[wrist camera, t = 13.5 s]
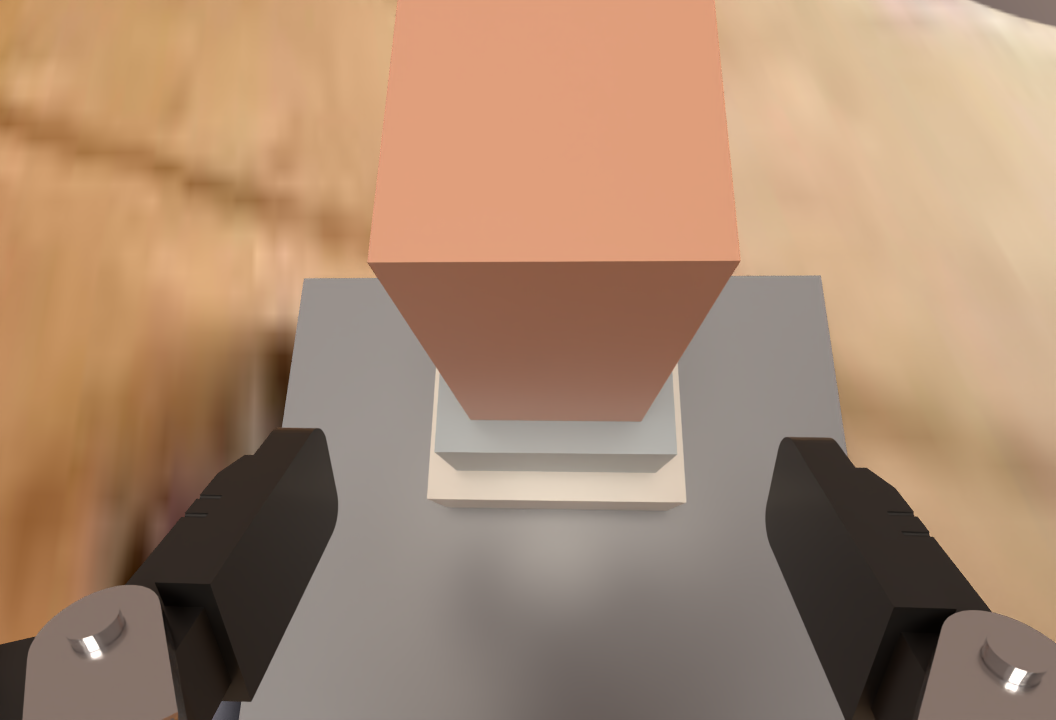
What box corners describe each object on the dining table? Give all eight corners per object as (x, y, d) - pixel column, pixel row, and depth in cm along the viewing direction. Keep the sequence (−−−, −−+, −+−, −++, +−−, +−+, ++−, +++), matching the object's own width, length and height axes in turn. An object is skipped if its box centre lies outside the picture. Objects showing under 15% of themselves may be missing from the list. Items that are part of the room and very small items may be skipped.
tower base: (655, 306, 27) (693, 209, 19) (666, 510, 24) (715, 490, 17) (458, 307, 28) (420, 212, 20) (446, 507, 25) (397, 486, 17)
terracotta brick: (634, 266, 19) (712, -24, 9) (641, 421, 17) (740, 260, 8) (478, 267, 19) (399, -15, 10) (470, 420, 18) (367, 262, 8)
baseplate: (813, 283, 28) (820, 275, 27) (895, 850, 21) (907, 861, 20) (310, 285, 29) (304, 278, 28) (233, 821, 22) (222, 831, 22)
